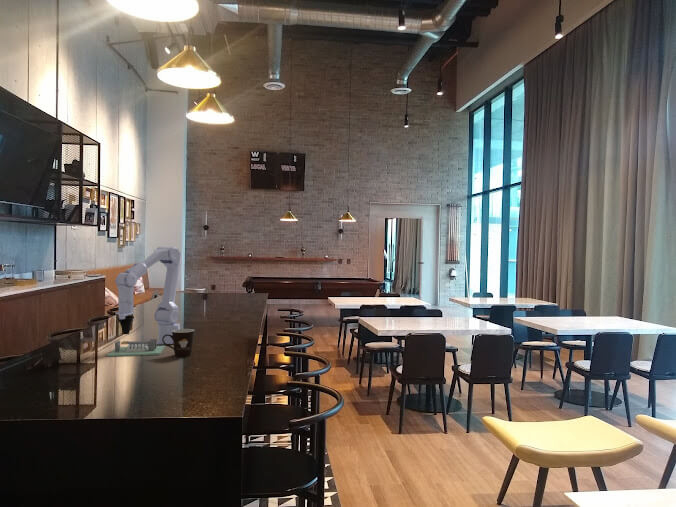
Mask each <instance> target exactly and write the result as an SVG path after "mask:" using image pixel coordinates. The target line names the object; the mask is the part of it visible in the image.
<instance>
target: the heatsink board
mask: <svg viewBox="0 0 676 507" xmlns="http://www.w3.org/2000/svg"><path fill="white" fill-rule="evenodd" d="M151 340H155V341H151ZM157 340H158V338H150V340H147V341H148V344H127V346H121V340H116V341H115V342H114V348H113V349H112V350H111V351H109V352H107V354H106V357H108V358H109V357H111V358H112V357H113V356H114V357H135V356H137V357H139V356H141V355H143V356H160V355H161V354H162V353H163V351H164V350H165V349H166V345H157V344H156V343H157V342H158V341H157ZM141 357H142V356H141Z"/></svg>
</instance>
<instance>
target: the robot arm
mask: <svg viewBox="0 0 676 507" xmlns="http://www.w3.org/2000/svg"><path fill="white" fill-rule="evenodd" d="M181 254H182V253H181V251H180V250H179V249H178V247H176V246H172V247H171V246H170V247H168V246H158V247H156V248H155V249H154V250H153V252H152V253H151V254H150V255H149V256H147V257H146V258H145V259H144V260H143V261H142V262H134V263H133V265H132V266H131V267H129V268H128V269H125V272H120V273H119V274H117V276H116V278H115V280H114V282H115V284H116V286H117V290H118V311H116V312H115V315H118V317H117V321H118V322H119V324H120V328H121V332H122V335H129V334H130V331H131V326H132V323H133V321H134V319H135V316H134V314H135V311H134V308H135V307H134V306H135V305H134V291H135V290H134V289H135V288H134V287H135V286H136V284H137V282H138V280H139V279H140V278H142V277H143V276H144V275H146V274H147V272H148V269H149V268H150V267H152V266H153V265H155V264H157V263H158V262H160V263H161V264H163V265H164V266H165V267H166V273H165V280H164V286H163V293H162V298H161V299H162V301H161V302H160V303H159V304H158V305H157V306H156V310H155V312H154V316H153V318H154V320H155V321H156V324H157V328H158V329H157V340H158V341H157V343H156V345H165V344H164V343H163V341H162V338H163V336H164V335H167V334H169V335H172V331H173V330H177V329H181V328H180V327H181V325H180V323H177V321H178V320H179V317H180V315H179V314H180V312H179V307H178V305H177V304H176V303H175V302H176V295H177V288H178V281H179V275H180V268H181V263H180V262H181V261H180V260H181V256H182V255H181ZM163 340H164V342H165V343H166V344H168V345H174V344H173V340H172V338H171V337H170V336H165V337H164V339H163Z"/></svg>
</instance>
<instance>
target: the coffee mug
mask: <svg viewBox="0 0 676 507" xmlns="http://www.w3.org/2000/svg"><path fill="white" fill-rule="evenodd" d="M194 334H195V329H192V328H180V329H177V330H173V331H172V335H169V334H167V335H164V336H163V338H162V341H163V343H164V344H163V345H164V346H166V347H168V348H170V349H172V350H173V351H174V357H176V358H187V357H190V356H192V353H193V352H192V351H193V344H194V336H195V335H194ZM165 336H170V337H171V338H172V340H173V344H172V345H173V346H171V344H166V343H165V342H164V340H163V339H164V337H165Z"/></svg>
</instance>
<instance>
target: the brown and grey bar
mask: <svg viewBox="0 0 676 507" xmlns="http://www.w3.org/2000/svg"><path fill="white" fill-rule="evenodd" d="M148 341H149V340H147V341H146V340H142V341H135V340H134V341H129V340H128V341H127V340H125V341H124V340H123V341H121V342H120V345H129V344H147V345H148ZM151 341H155V340H151Z"/></svg>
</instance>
